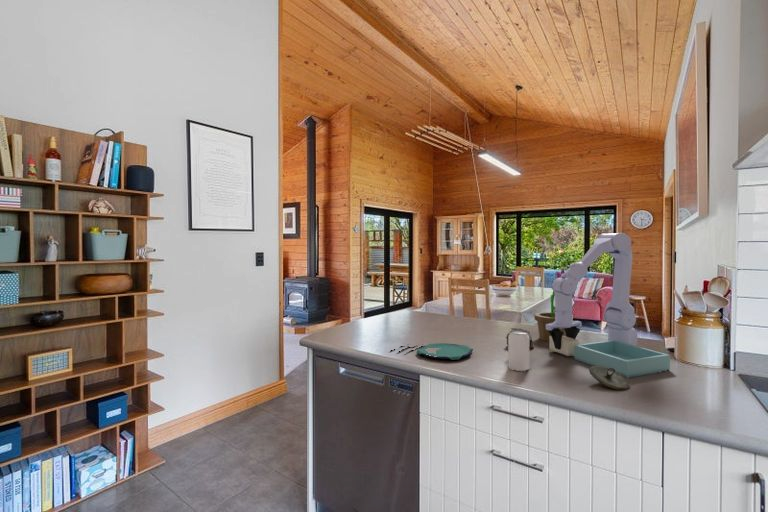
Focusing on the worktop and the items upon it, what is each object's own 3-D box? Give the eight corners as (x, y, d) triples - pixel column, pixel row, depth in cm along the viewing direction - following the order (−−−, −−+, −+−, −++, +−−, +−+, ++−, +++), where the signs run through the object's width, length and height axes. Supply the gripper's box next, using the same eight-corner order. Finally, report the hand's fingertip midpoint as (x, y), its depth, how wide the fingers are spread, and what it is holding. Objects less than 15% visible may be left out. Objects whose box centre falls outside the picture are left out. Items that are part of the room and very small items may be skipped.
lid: (600, 375, 118) (600, 359, 118) (636, 385, 109) (636, 368, 109) (581, 383, 112) (581, 366, 112) (617, 394, 104) (617, 375, 103)
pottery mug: (535, 352, 145) (524, 334, 144) (512, 360, 149) (501, 342, 149) (536, 337, 155) (526, 320, 155) (515, 345, 160) (505, 328, 159)
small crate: (560, 347, 145) (560, 334, 145) (579, 354, 137) (579, 340, 137) (549, 349, 144) (549, 336, 143) (568, 355, 135) (567, 341, 135)
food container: (535, 365, 128) (535, 336, 128) (515, 365, 129) (515, 335, 129) (528, 355, 140) (528, 328, 140) (511, 354, 141) (511, 327, 141)
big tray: (613, 353, 140) (613, 340, 140) (669, 370, 121) (669, 355, 121) (574, 359, 134) (574, 345, 134) (626, 378, 115) (626, 361, 115)
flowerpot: (577, 343, 155) (577, 269, 154) (542, 343, 155) (541, 269, 154) (561, 334, 169) (561, 266, 168) (529, 335, 169) (528, 267, 168)
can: (519, 373, 121) (519, 335, 121) (504, 367, 127) (503, 331, 127) (533, 369, 124) (533, 332, 124) (518, 364, 130) (518, 329, 130)
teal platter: (460, 366, 130) (459, 359, 130) (385, 354, 146) (385, 348, 146) (479, 352, 146) (479, 346, 146) (411, 343, 163) (411, 337, 163)
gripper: (571, 307, 146) (571, 343, 146) (539, 310, 141) (539, 347, 142) (586, 310, 139) (586, 347, 139) (553, 313, 134) (554, 352, 135)
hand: (563, 347), depth 140 cm, fingers closed on small crate, 5 cm apart
